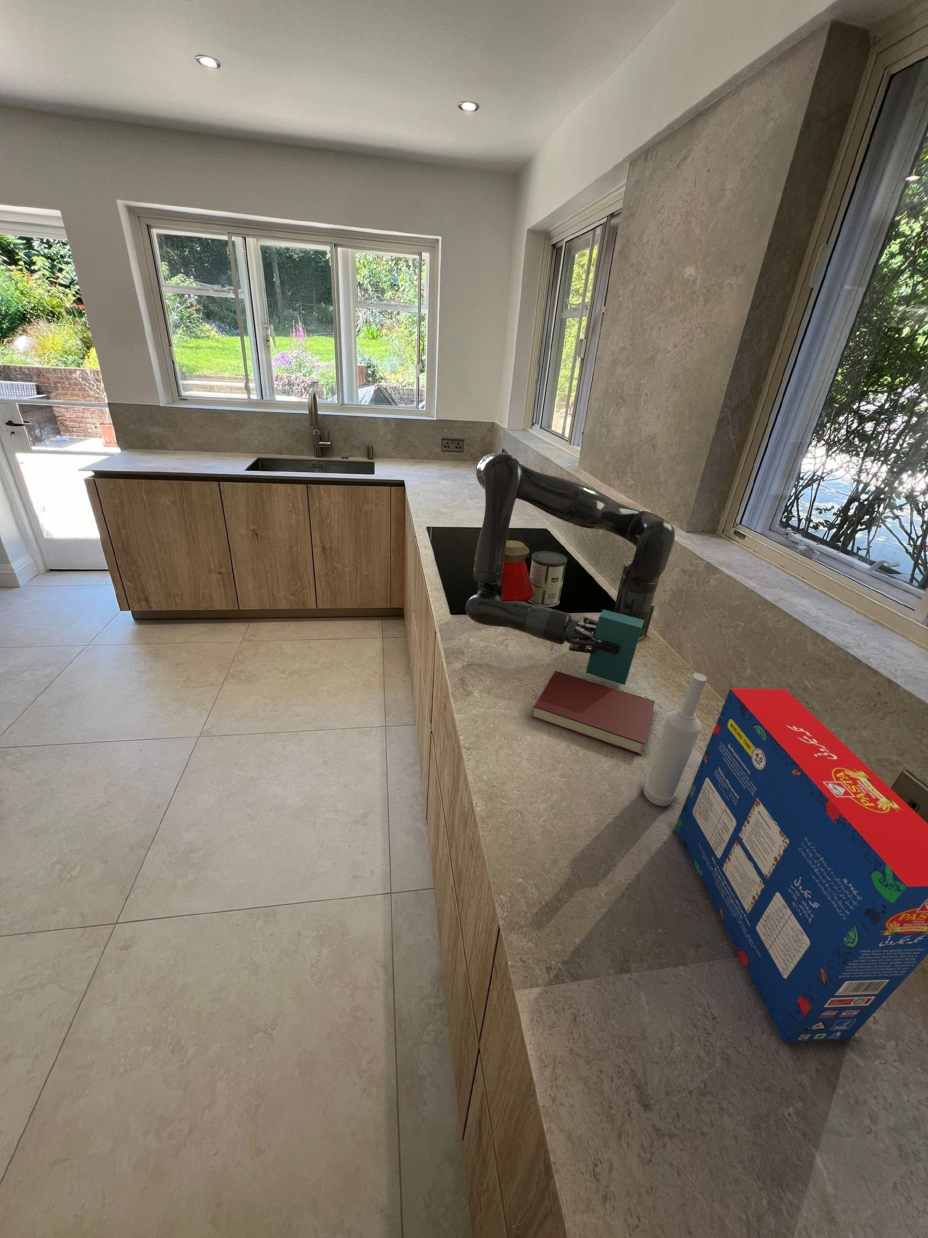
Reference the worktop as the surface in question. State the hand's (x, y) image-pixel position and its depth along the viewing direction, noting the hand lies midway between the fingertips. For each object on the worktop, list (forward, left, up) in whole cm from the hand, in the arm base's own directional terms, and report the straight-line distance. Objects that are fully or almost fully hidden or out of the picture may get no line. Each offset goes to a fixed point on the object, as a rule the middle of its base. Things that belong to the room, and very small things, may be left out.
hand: (620, 645), depth 110 cm
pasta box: (+16, +52, -10) cm, 55 cm away
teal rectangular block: (+1, -1, -8) cm, 9 cm away
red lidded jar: (+7, -41, -10) cm, 43 cm away
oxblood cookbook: (+11, +9, -10) cm, 17 cm away
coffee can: (-7, -43, -10) cm, 45 cm away
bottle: (+13, +31, -10) cm, 35 cm away
